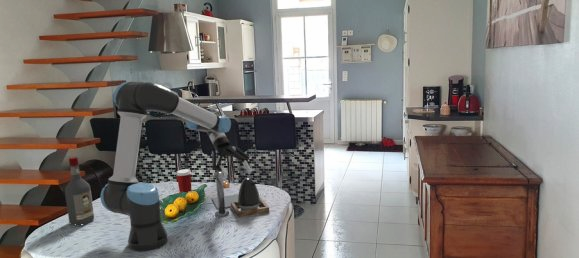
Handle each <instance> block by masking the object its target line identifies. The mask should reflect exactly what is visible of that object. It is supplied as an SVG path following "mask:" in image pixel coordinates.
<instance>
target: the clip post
mask: <svg viewBox="0 0 579 258" xmlns="http://www.w3.org/2000/svg"><path fill="white" fill-rule="evenodd" d="M215 183H216V185H215V186H216V192H217V193H216V195H217V196H216V197H218V210H217V211H215V212H214V215H215V217H217V216H218V218H222V217H227V216H229V215H230V211H229V210H227V209H226V208H225V201H224V196H225V192H224V191H225V190H224V189H225V188H223V185H222V183H221V182H220V180H219V179H218V177H215Z"/></svg>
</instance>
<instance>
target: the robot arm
mask: <svg viewBox="0 0 579 258" xmlns="http://www.w3.org/2000/svg"><path fill="white" fill-rule="evenodd" d="M114 90H115V91H114V93H113V102H114V104H115V106H116V107H117V114H118V115H119V117H120V120H119V121H120V122H119V126H118V127H119V128H118V134H117V135H118V136H117V142H116V151H115V159H114V165H113V166H114V167H113V174H112V176H111V177H109V178H108V182H107V184H105V185H104V187H102V189H101V191H100V203H101V204H102V206H103V208H104V209H106V210H107V211H110V212H112V213H115V214H121V215H125V216H129V220H130V228H129V229H130V231H129V235H128V239H127V245H128V248H129V249H130V250H133V251H138V252H140V251H141V252H144V251H151V250H154V249H158V248H160V247H163V246H164V245H165V244H167V242H168V240H169V236H168V232H167V230H166V228H165V226H164V224H163V222H162V213H161V203H160V195H159V189H158V187H157V186H156V185H154V184H153V183H147V182H144V183H142V182H139V180H138V179H137V178H136V174H137V173H136V171H137V167H138V166H137V165H138V158H139V149H140V141H141V133H142V127H143V121H144V119H145V118H146V117H147V116H148V112H149V111H151V112H158V113H159V112H161V113H164V114H166V115H171V114H172V115H175V116H177V117H179V118H182V119H184V120H185V126H186V128H188V129H189V130H192V131H198V132H205V133H207V136H208V137H209V139H210V141H211V144H212V145H213V147H214V148H213V149H212V151H211V156H212V157H211V159H212V161H211V162H212V163H211V169H212V170H215V171H223V172H224V178H225V179H226V180H227V179H228V175H227V174H226V171H225V169H224V168H223V165H221V164H222V161H223V158H227V157H228V158H229V157H233V158H235V159H237V160H238V161H240V162H241V163H242V164H243V167H244V168H245V171H246V172H247V174H248V175H251V173H252V168H251V167H250V166H251V163H249V160H250V156H249V155H248V154H247V153H246V152H244V151H243V150H242V149H241V148H239V147H238V145H237V144H234V146H232V145H231V142H230V141H229V139H228V137H227V135H226V134H225V133H229V131H230V129H231V126H232V121H231V119H230V118H229V117H228V116H223V115H218V114H216V113H213V112H211V111H209V110H208V109H205V108H203V107H201V106H199V105H196V104H195V103H192V102H190V101H189V100H187V99H185V98H182V97H180V96H179V94H178V93H177V92H175V91H173V90H171V89H169V88H167V87H165V86H163V85H160V84H158V83H155V82H152V81H146V82H145V81H125V82H123V83H120V84H119V85H118V86H117V87H116V89H114ZM217 155H219V157H218V160H217Z"/></svg>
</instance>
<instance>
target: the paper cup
mask: <svg viewBox="0 0 579 258" xmlns="http://www.w3.org/2000/svg"><path fill="white" fill-rule="evenodd" d="M175 175H176V179H177V185H178V191H179V194H180V193H182V192H188V191H191V192H192V171H191V169H187V168H185V169H180V170H177V171H176V174H175Z"/></svg>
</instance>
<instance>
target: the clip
mask: <svg viewBox="0 0 579 258" xmlns="http://www.w3.org/2000/svg"><path fill="white" fill-rule="evenodd" d="M213 177H214V178H216V177H218V179H219V180H220V182H221V183H222V185H223V188H224V189H229V188H230V182H228V180H227V179H225V178H224V172H223V171H218V170H216V171H215V172H213Z"/></svg>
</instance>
